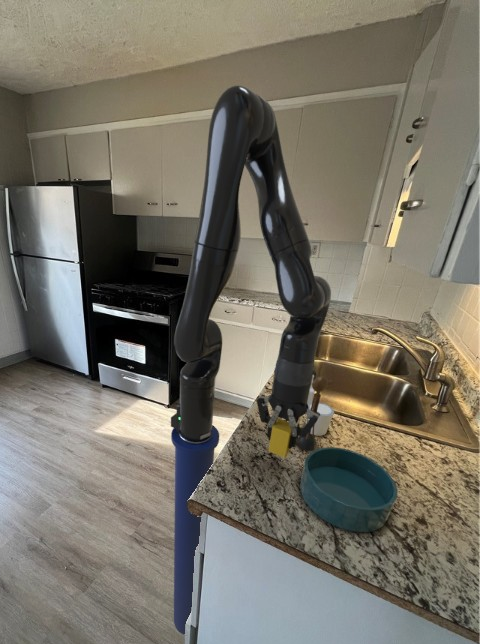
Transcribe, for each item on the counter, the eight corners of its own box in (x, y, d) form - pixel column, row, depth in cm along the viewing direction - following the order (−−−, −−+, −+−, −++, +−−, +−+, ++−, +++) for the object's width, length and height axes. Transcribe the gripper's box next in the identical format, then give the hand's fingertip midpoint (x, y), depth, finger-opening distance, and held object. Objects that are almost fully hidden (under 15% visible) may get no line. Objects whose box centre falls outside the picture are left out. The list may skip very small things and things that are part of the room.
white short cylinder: (325, 424, 91) (331, 403, 88) (331, 438, 85) (337, 417, 82) (301, 421, 92) (305, 400, 89) (304, 435, 86) (309, 413, 83)
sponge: (268, 451, 73) (272, 426, 70) (274, 442, 76) (278, 418, 73) (285, 458, 71) (289, 433, 68) (290, 449, 74) (295, 424, 71)
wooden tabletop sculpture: (311, 437, 85) (327, 370, 76) (322, 447, 81) (340, 379, 72) (292, 440, 83) (306, 373, 75) (303, 452, 79) (319, 382, 71)
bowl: (289, 503, 65) (294, 481, 62) (312, 457, 78) (317, 437, 75) (383, 549, 56) (393, 526, 53) (391, 489, 69) (400, 468, 66)
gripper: (332, 379, 64) (316, 446, 71) (267, 362, 71) (258, 424, 79) (323, 393, 59) (307, 464, 66) (253, 373, 66) (245, 439, 73)
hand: (280, 442), depth 72 cm, fingers closed on sponge, 4 cm apart
